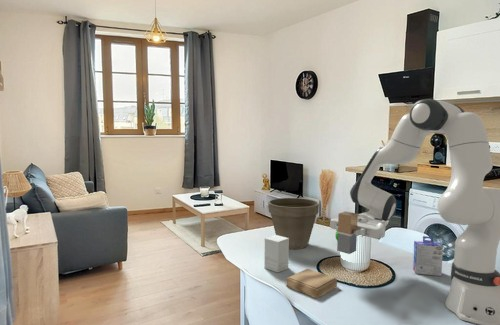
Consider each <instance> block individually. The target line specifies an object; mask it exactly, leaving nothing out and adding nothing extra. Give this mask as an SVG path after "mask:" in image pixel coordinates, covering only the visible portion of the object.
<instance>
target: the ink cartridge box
mask: <svg viewBox="0 0 500 325" xmlns="http://www.w3.org/2000/svg"><path fill="white" fill-rule="evenodd" d="M443 255H444V246H443V244H441V243H440V242H437V241H436V242H435V241H434V238H433V236H425V235H423V236H422V241H418V240H417V241H416V240H414V241H413V261H412V262H413V264H412V270H413V273H414V274H416V275H428V276H429V275H430V276H438V277H441V276H442V270H443Z"/></svg>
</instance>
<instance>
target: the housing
mask: <svg viewBox="0 0 500 325" xmlns="http://www.w3.org/2000/svg"><path fill="white" fill-rule="evenodd" d="M358 214H359V213H357V212H356V213H355V212H351V211H350V212H349V211H342V212H340V213H338V217H337V218H338V231H336V232H337V233H338V241H337V240H336V241H337V244H336V245H337V246H336V247H337V248H336V251H337V252H341V253H343V254H348V255H351V254H353V253H354V252H356V251H357V241H358V238H357V237H358V236H355V235H353V230H357V220H358Z"/></svg>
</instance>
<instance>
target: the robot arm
mask: <svg viewBox="0 0 500 325" xmlns="http://www.w3.org/2000/svg"><path fill="white" fill-rule="evenodd" d="M432 133H434V135H445V137H446V138H447V139H446V140H447V143H448V144H447V145H448V150H449V151H448V152H449V160H450V166H451V167H450V168H451V169H450V170H451V174H450V180H449V184H448V186H447V188H446V189H445V191H444V192H443V193H442V194H441V195H440V196H439V198H438V199H437V200H438V201H437V207H436V208H437V211H438V214H439V216H440V218H442V220H443V221H445V222H447V223H451V224H455V225H460V226H466V228H465V230H464V231H463V232H462V233H460V235H458V236H457V238H456V239H455V242H454V253H453V255H454V256H453V262H452V263H451V267H450V268H451V269H450V276H451V277H450V279H451V282H450V288H449V290H448V291H449V292H448V295H447V297H446V299H445V301H444V304H445V307H446V308H447V309H448V310H450V311H451V312H453V314H455V315H456V316H457V317H458V319H460V320H462V321H466V322H467V323H473V324H476V325H500V272H499V271H498V270H496V263H497V262H496V261H497V254H498V247H499V245H500V189H499V188H483V186H484V184H483V183H484V179H485V177H486V175H487V174H489V173H490V172H491V171H492V169H493V161H492V160H493V158H492V153H491V147H490V143H489V138H488V137H489V136H488V134H487V130H486V128H485V125H484V122H483V119H482V118H481V116H479V114H477V113H475V112H471V111H469V112H468V111H465V110H464V109H463V108H462V107H461V106H459V105H456V104H453V103H449V102H447V101H444V100H440V99H438V100H437V99H433V98H425V99H420V100H418V101H416V102H415V103H414V104H413V105H412V106H411V108H410V111H409V112H408V113H406V114H404V115H403V116H402V117H401V119H400V120H399V121H398V122H397V124H396V126H395V128H394V130H393V133H392V135H391V137H390V139H389V141H388V142H387V144H386V145H385V146H382V147H379V148H378V149H377V150H376V151H374V153H373V155H372V156H371V158H370V159H369V161H368V162H367V164H366V166H365V167H364V169H363V170H362V173H361V174H360V176H359V178H358V179H357V181H355V183H354V184H353V185H352V187H351V189H350V191H349V195H350V199H351V201H352V203H355V204H356V205H359V206H362V207H363V208H366V209H367V210H368V211H365V212H362V213H357V214H358V220H357V230H353V235H355V236H357V237H358V236H359V235H362V236H361V237H363V236H365V238H370V239H371V238H372V239H375V240H376V239H377V240H380V239H383V238H384V237H385V235H386V227H387V225H388V224H389V222H390V220H391V219H392V218H393V216H394V214H395V212H396V210H397V200H396V197H395V195H393V194H392V193H390V192H387V191H385V190H383V189H381V188H379V187H377V186H375V185H373V184H372V180H373V178H374V177H375V175H376V173H378V171H379V169H380V167H382V166H383V165H405V164H409V163H412V162H414V160H415V159H416V158H417V156H418V154H419V153H420V150H421V148H422V145H423V143H424V141H425V138H426V137H427V136H428V135H429V134H432ZM329 227H330V229H332V230H335V231H336V232H337V231H338V217H336V218H331V219H330V223H329Z"/></svg>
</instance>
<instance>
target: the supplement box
mask: <svg viewBox="0 0 500 325" xmlns="http://www.w3.org/2000/svg"><path fill="white" fill-rule="evenodd" d="M289 254H290V249H289V238H286V237H282V236H278V235H276V234H273V235H271V236H268V237H265V238H264V265H263V266H264V269H266V270H270V271H273V272H275V273H280V272H283V271H284V270H287V269H289V264H290V262H289V259H290V256H289Z"/></svg>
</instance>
